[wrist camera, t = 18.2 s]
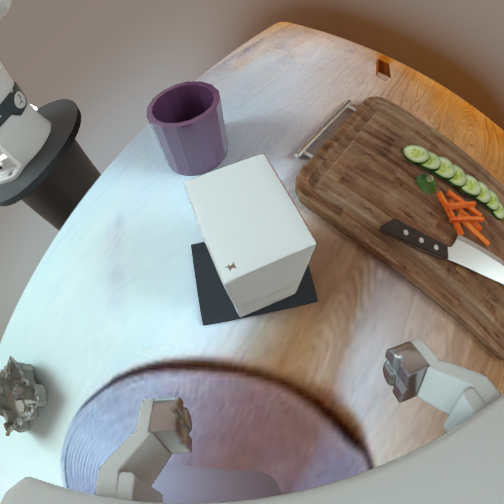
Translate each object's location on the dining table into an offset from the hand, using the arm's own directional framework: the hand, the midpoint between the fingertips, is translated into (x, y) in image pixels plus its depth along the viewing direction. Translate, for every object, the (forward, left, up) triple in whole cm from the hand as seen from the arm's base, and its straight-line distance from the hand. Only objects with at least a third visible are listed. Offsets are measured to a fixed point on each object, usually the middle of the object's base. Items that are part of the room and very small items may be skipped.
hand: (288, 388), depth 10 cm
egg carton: (-34, -2, -18) cm, 39 cm away
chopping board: (+29, +12, -18) cm, 36 cm away
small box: (0, +10, -18) cm, 21 cm away
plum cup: (-4, +29, -18) cm, 34 cm away
